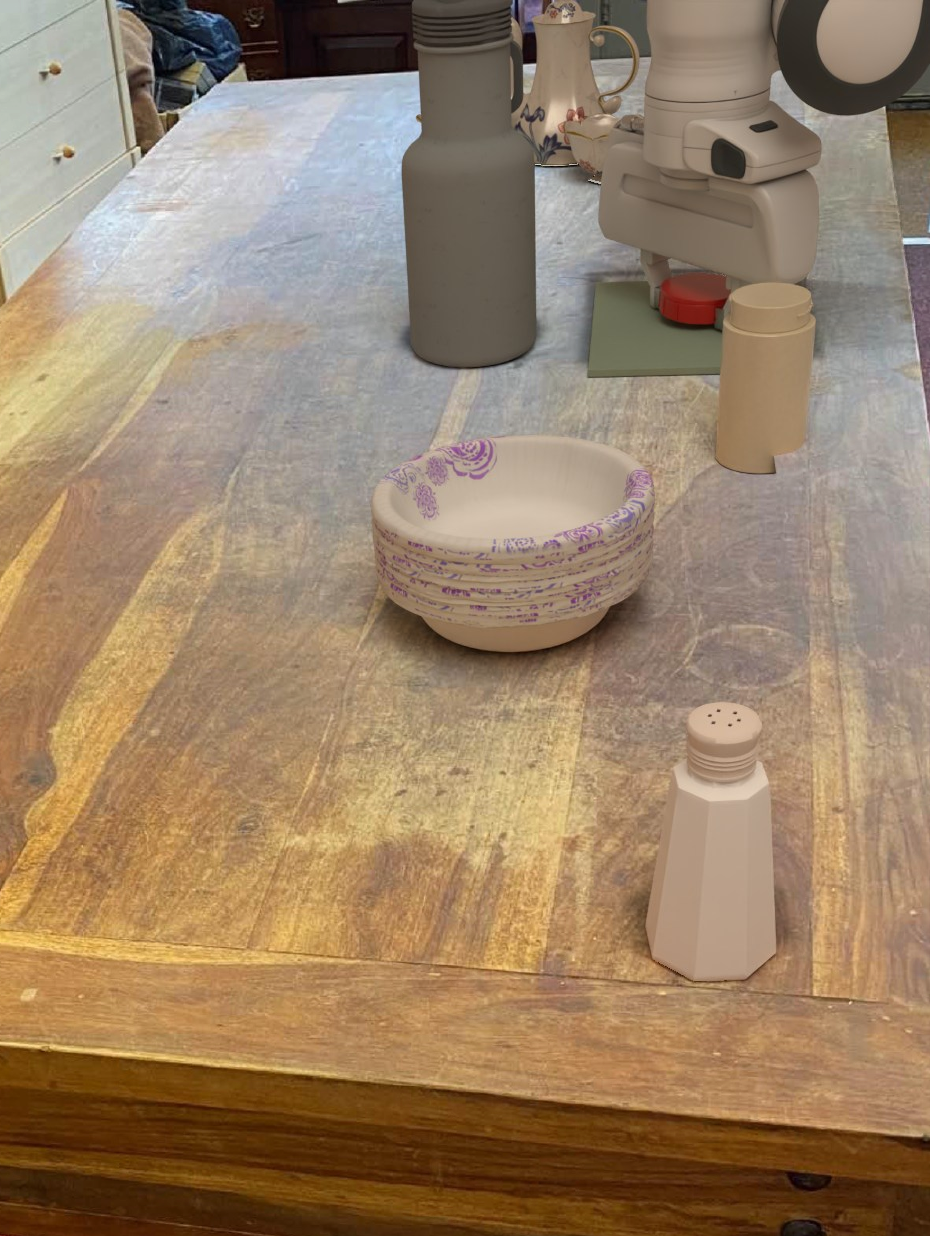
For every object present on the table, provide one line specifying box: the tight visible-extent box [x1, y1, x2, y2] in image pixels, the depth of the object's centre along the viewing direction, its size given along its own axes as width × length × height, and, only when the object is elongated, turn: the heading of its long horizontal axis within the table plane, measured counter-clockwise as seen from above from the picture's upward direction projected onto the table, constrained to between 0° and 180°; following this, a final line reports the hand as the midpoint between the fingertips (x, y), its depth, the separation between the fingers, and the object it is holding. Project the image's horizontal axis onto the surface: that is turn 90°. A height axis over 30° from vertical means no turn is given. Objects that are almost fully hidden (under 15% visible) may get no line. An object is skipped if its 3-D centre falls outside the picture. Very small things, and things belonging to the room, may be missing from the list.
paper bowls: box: [370, 434, 656, 653], centre depth 89 cm, size 15×15×8 cm
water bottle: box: [401, 0, 538, 368], centre depth 119 cm, size 10×10×28 cm
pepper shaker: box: [644, 701, 777, 982], centre depth 64 cm, size 5×5×11 cm
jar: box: [715, 282, 817, 474], centre depth 103 cm, size 6×6×11 cm
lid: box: [658, 272, 731, 325], centre depth 125 cm, size 6×6×2 cm
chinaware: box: [415, 0, 644, 182], centre depth 165 cm, size 28×17×17 cm, turn 58°
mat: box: [587, 280, 797, 378], centre depth 126 cm, size 16×20×1 cm
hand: (696, 318), depth 126 cm, fingers closed on lid, 6 cm apart
